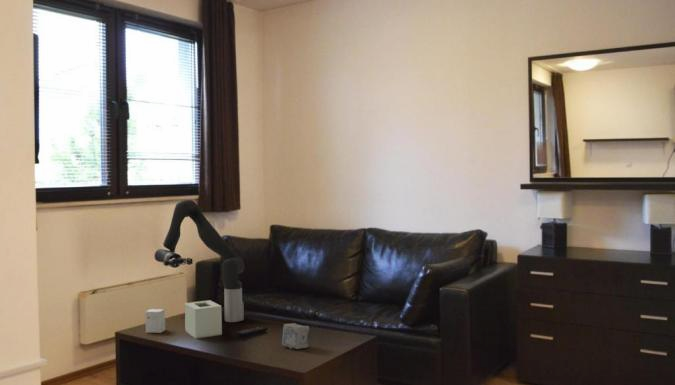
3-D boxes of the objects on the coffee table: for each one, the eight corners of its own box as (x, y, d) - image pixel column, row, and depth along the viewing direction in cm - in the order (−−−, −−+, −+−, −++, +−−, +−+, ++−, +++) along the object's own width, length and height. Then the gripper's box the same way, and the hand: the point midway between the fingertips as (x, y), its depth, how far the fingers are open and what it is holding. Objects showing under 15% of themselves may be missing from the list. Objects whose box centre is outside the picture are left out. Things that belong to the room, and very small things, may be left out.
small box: (165, 330, 301) (165, 309, 301) (161, 333, 295) (160, 311, 295) (150, 329, 302) (149, 308, 301) (145, 332, 296) (145, 311, 296)
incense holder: (310, 347, 270) (309, 324, 269) (297, 351, 263) (297, 328, 263) (293, 343, 276) (293, 321, 276) (281, 347, 269) (281, 324, 269)
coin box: (210, 327, 305) (210, 300, 305) (221, 334, 291) (221, 306, 291) (185, 331, 298) (184, 303, 298) (195, 338, 285) (195, 309, 284)
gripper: (159, 253, 319) (168, 257, 305) (185, 251, 326) (195, 255, 312) (159, 267, 319) (168, 272, 305) (186, 265, 326) (195, 269, 313)
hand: (182, 263), depth 309 cm, fingers open, 8 cm apart
